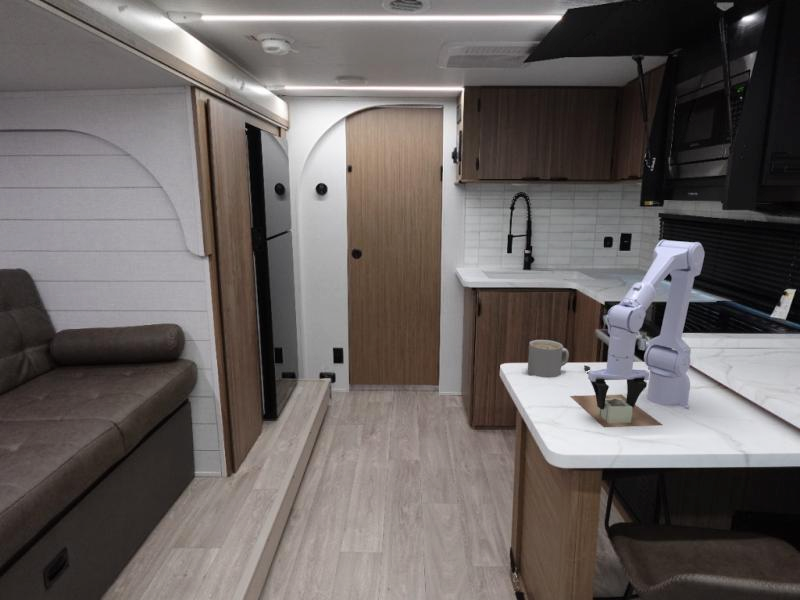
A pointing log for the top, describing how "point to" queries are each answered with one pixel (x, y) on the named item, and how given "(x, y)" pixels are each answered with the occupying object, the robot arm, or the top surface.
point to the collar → (616, 412)
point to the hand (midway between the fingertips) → (615, 407)
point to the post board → (635, 417)
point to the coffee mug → (546, 358)
